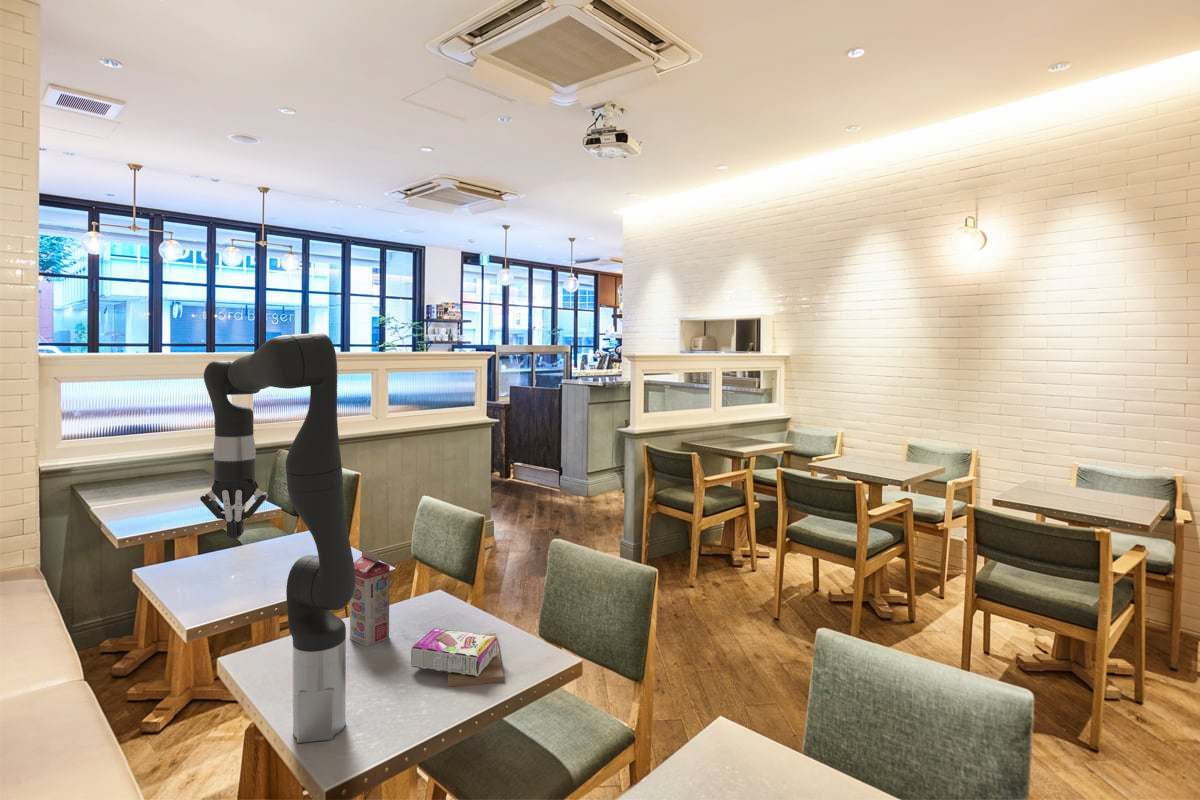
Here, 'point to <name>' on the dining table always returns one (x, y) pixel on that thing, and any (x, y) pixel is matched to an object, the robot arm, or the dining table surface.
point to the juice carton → (370, 600)
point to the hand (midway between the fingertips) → (235, 537)
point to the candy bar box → (454, 652)
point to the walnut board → (488, 675)
